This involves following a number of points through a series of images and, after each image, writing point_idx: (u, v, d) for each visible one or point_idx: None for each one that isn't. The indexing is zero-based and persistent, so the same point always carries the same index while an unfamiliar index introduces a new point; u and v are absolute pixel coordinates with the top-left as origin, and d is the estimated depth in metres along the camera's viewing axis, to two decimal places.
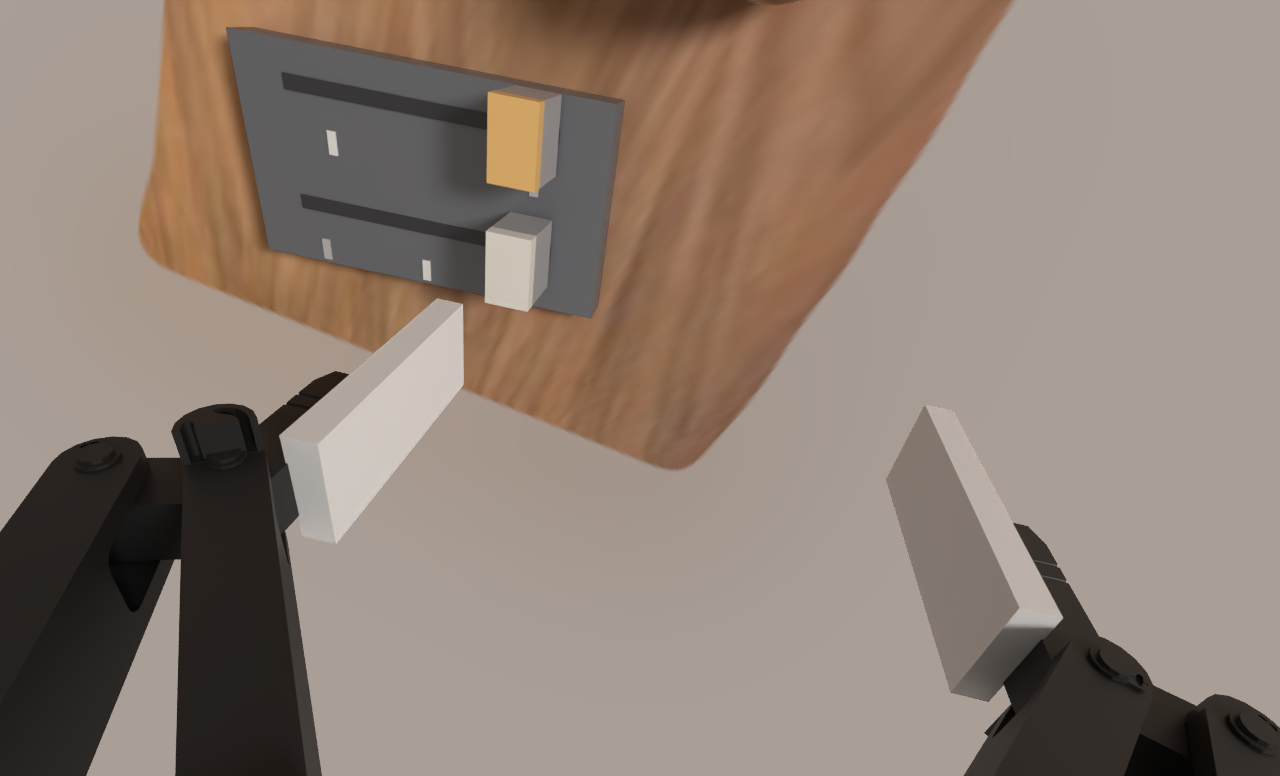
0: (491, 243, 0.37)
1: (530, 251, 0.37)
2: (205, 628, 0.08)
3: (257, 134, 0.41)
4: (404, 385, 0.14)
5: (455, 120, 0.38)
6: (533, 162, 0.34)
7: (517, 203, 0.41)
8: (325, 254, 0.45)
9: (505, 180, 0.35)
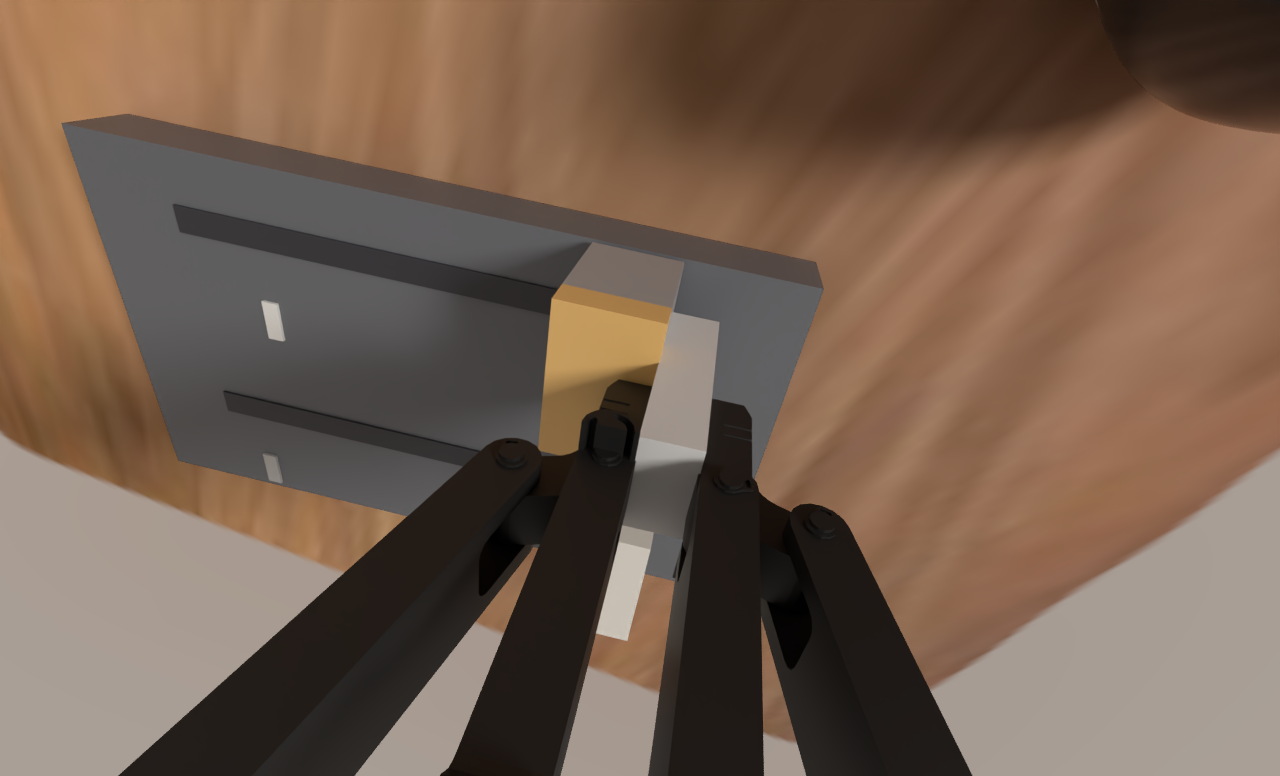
0: None
1: (645, 563, 0.19)
2: (539, 593, 0.09)
3: (140, 300, 0.23)
4: None
5: (500, 299, 0.20)
6: None
7: None
8: (270, 475, 0.27)
9: (577, 449, 0.17)
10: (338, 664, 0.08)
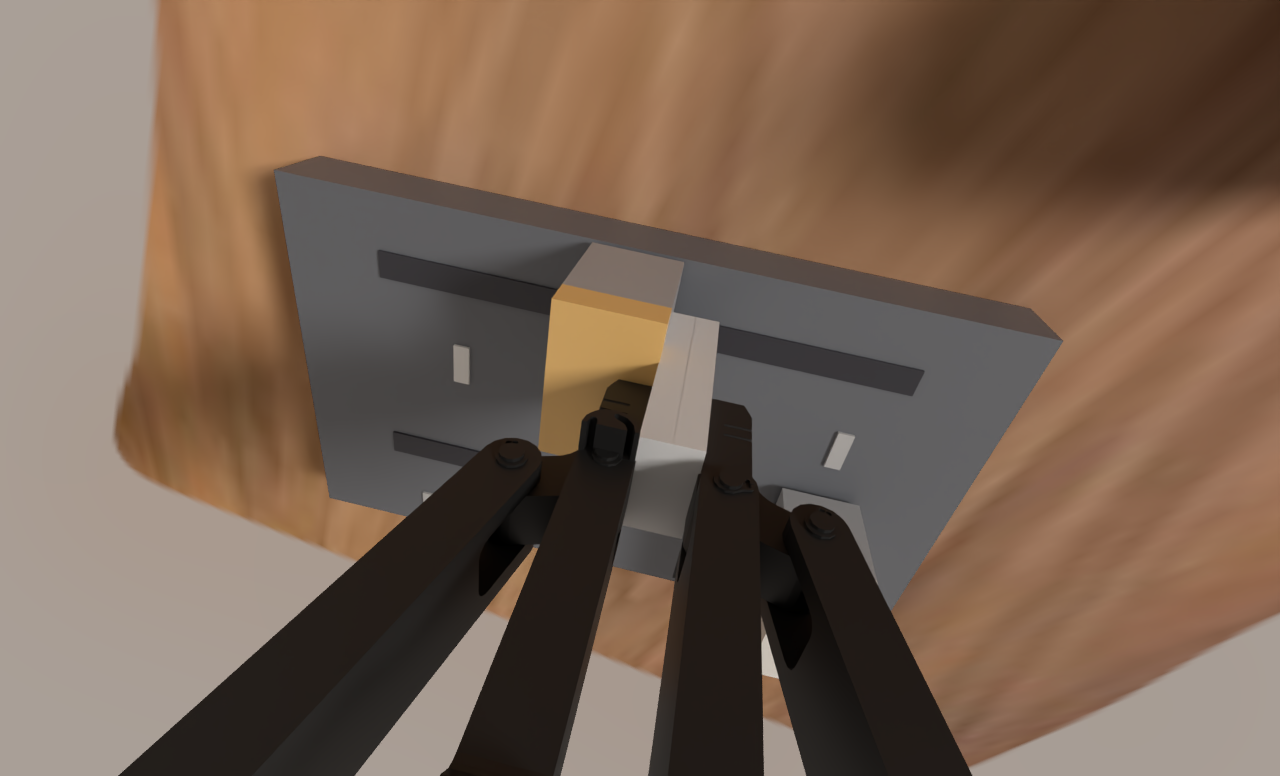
0: None
1: None
2: (539, 593, 0.09)
3: (322, 342, 0.23)
4: None
5: None
6: None
7: (795, 473, 0.22)
8: None
9: (577, 449, 0.17)
10: (338, 664, 0.08)
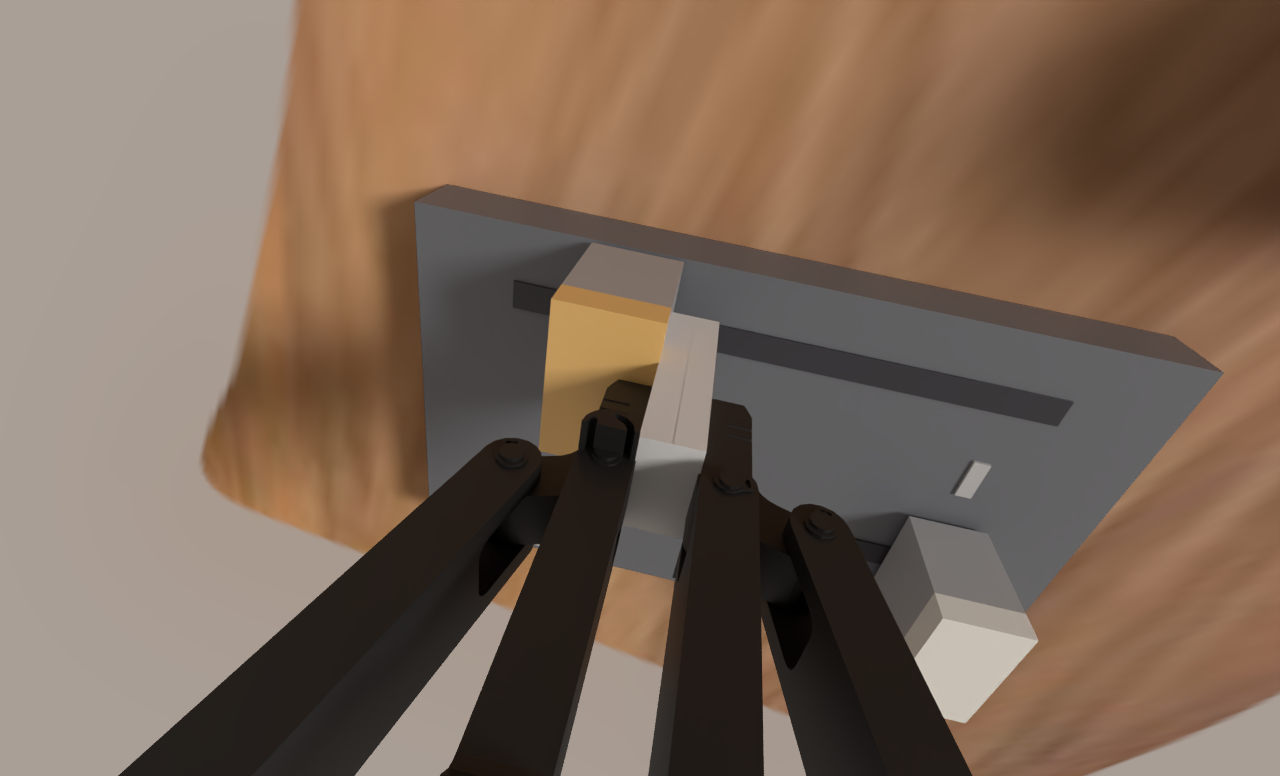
0: (944, 635, 0.19)
1: (1024, 652, 0.19)
2: (539, 593, 0.09)
3: (443, 370, 0.23)
4: None
5: (852, 377, 0.20)
6: None
7: (923, 501, 0.22)
8: None
9: None
10: (338, 664, 0.08)
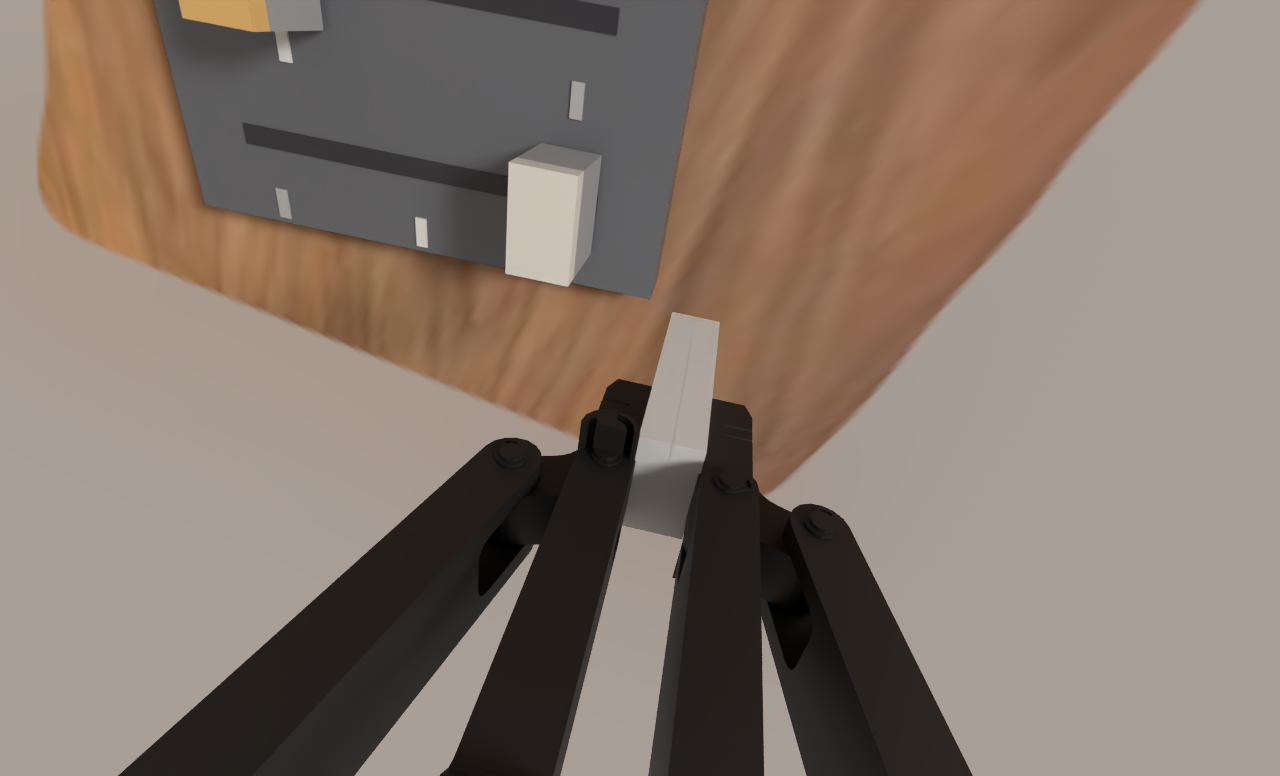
0: (516, 181, 0.25)
1: (575, 193, 0.25)
2: (538, 593, 0.09)
3: (176, 32, 0.29)
4: None
5: (462, 1, 0.26)
6: None
7: (551, 130, 0.28)
8: (281, 211, 0.33)
9: (207, 12, 0.23)
10: (338, 664, 0.08)
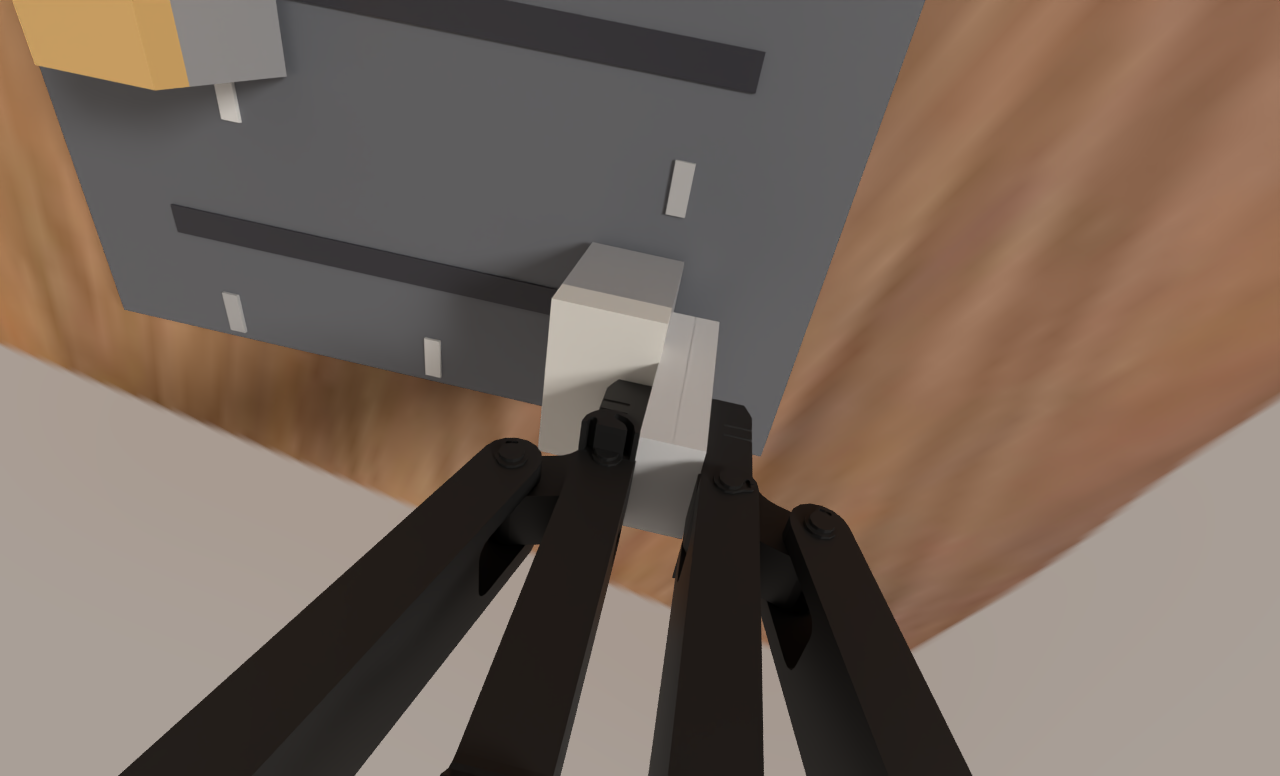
0: (563, 327, 0.15)
1: (660, 348, 0.15)
2: (539, 593, 0.09)
3: (64, 74, 0.19)
4: None
5: (507, 35, 0.16)
6: (126, 1, 0.13)
7: (635, 229, 0.18)
8: (232, 322, 0.23)
9: (76, 56, 0.13)
10: (338, 664, 0.08)
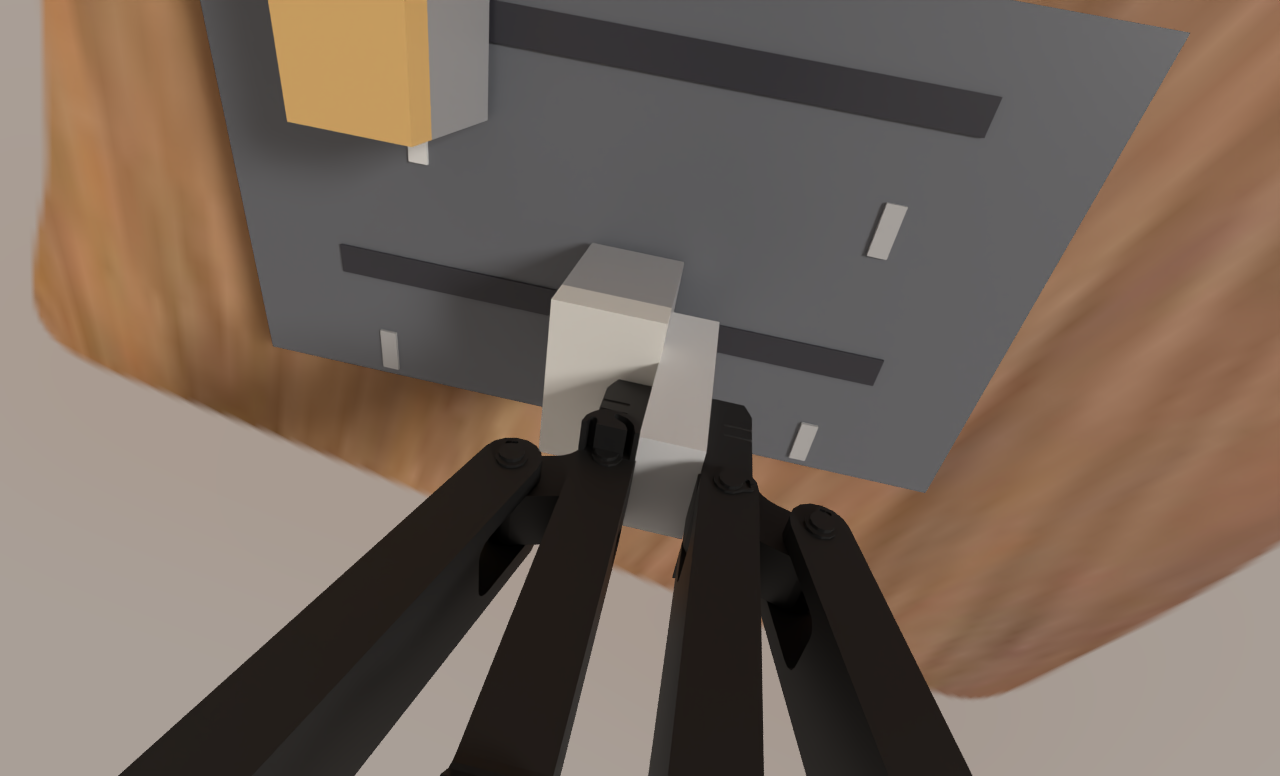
0: (563, 327, 0.15)
1: (660, 348, 0.15)
2: (539, 593, 0.09)
3: (248, 116, 0.19)
4: None
5: (727, 80, 0.16)
6: (400, 60, 0.12)
7: (830, 270, 0.18)
8: (385, 359, 0.23)
9: (333, 113, 0.13)
10: (338, 664, 0.08)
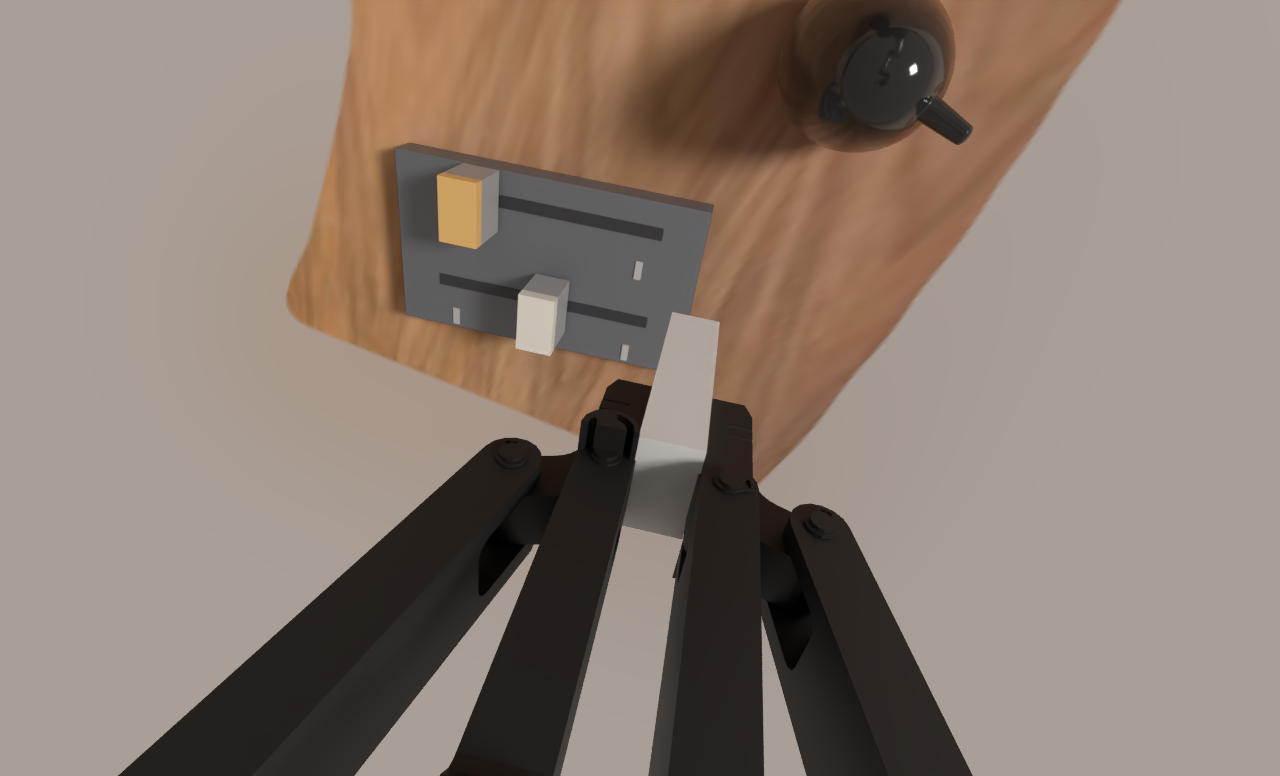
0: (522, 303, 0.47)
1: (553, 310, 0.47)
2: (539, 593, 0.09)
3: (409, 227, 0.50)
4: None
5: (577, 221, 0.48)
6: (474, 226, 0.44)
7: (622, 284, 0.50)
8: (454, 320, 0.54)
9: (453, 239, 0.45)
10: (338, 664, 0.08)
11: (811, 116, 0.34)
